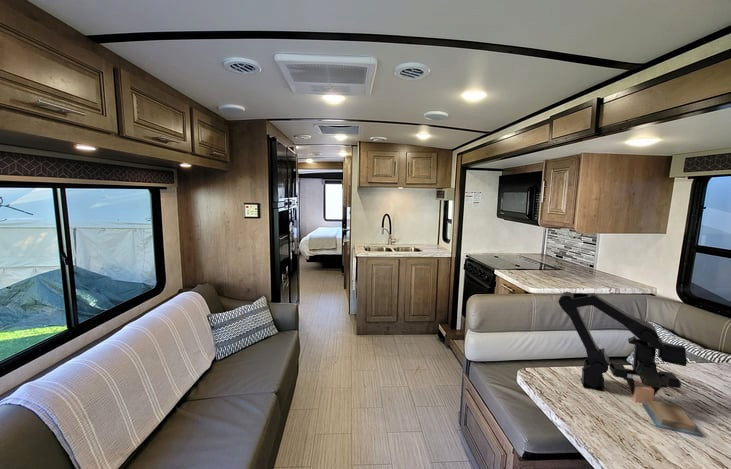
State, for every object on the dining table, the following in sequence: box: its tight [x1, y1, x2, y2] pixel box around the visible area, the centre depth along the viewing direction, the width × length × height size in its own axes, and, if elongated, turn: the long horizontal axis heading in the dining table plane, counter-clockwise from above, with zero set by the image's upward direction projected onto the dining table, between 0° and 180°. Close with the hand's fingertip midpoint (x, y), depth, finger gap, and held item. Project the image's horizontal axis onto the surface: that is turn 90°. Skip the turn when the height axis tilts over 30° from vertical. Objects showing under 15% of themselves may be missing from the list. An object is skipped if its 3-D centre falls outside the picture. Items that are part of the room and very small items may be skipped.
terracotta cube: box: [629, 379, 655, 405], centre depth 110 cm, size 5×5×6 cm
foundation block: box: [641, 400, 703, 438], centre depth 99 cm, size 11×11×3 cm
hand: (641, 395), depth 110 cm, fingers closed on terracotta cube, 5 cm apart
